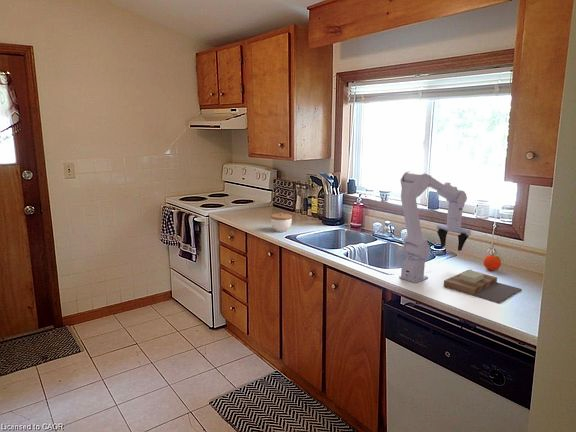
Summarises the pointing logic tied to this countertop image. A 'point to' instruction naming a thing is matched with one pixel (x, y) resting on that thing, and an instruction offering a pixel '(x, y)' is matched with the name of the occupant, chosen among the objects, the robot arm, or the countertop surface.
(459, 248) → the robot arm
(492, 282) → the board
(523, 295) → the countertop surface
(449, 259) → the countertop surface
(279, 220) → the lidded bowl
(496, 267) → the clementine
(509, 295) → the mat
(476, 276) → the tile
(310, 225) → the countertop surface
